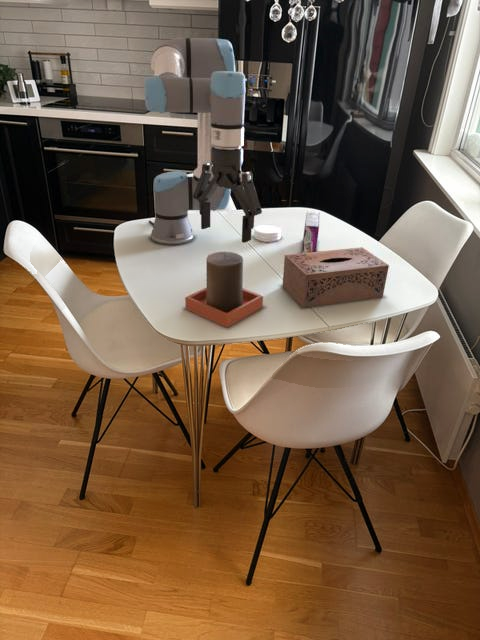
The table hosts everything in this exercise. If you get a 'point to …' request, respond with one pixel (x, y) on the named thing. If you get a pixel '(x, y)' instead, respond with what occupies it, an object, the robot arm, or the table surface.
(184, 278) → the table surface
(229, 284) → the pillar candle
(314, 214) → the candy bar box
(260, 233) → the coaster
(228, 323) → the holder
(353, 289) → the tissue box cover
